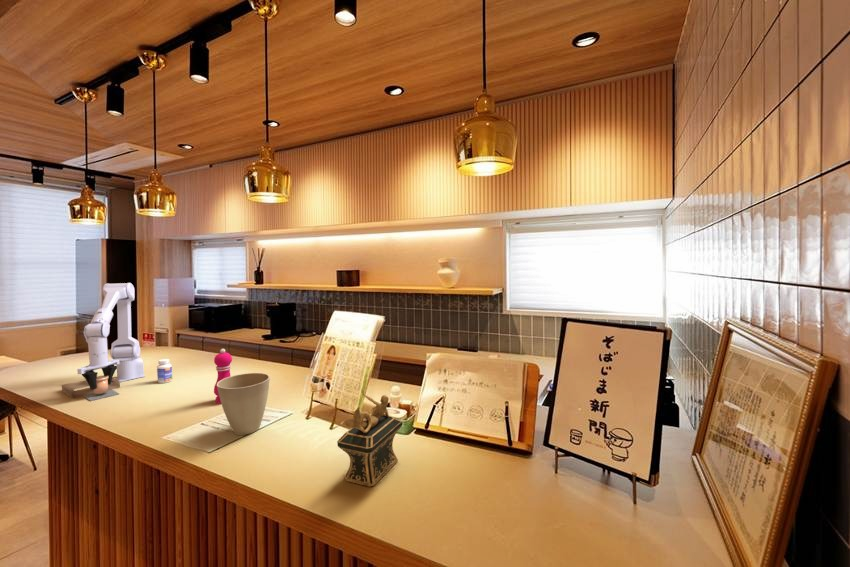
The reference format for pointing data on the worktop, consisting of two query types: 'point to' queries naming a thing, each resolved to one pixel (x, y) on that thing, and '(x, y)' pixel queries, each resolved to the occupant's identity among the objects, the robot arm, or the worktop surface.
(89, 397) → the slate mat
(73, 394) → the frame
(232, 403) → the plant pot
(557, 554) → the worktop surface
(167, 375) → the pill bottle
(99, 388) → the terracotta pot
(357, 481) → the decorative box
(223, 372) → the pepper mill
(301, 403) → the worktop surface
